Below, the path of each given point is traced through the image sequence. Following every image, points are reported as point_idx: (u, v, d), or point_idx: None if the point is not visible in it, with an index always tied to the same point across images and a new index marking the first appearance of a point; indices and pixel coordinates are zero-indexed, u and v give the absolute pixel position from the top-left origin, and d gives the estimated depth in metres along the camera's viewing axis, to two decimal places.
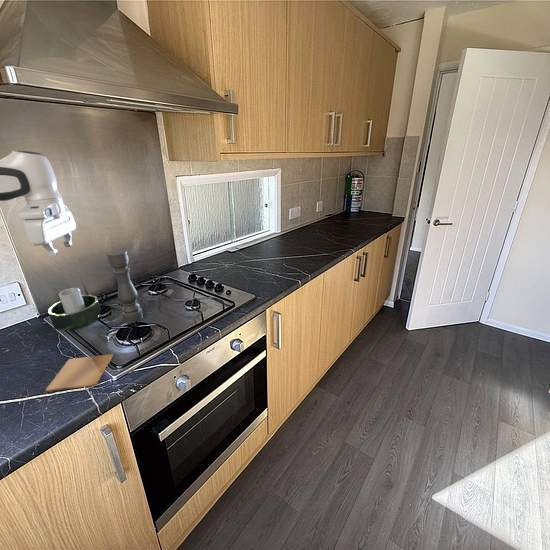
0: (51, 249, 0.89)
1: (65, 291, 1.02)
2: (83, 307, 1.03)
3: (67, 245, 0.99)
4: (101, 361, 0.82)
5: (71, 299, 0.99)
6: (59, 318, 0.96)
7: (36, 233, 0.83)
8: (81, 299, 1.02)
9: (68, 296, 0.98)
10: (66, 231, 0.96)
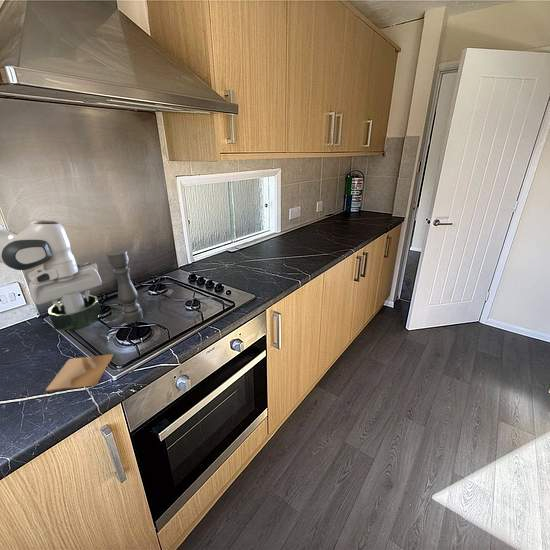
0: (56, 305, 0.98)
1: None
2: (83, 307, 1.03)
3: None
4: (101, 361, 0.82)
5: (71, 299, 0.99)
6: (59, 318, 0.96)
7: (31, 294, 0.92)
8: (81, 299, 1.02)
9: (68, 296, 0.98)
10: (79, 289, 1.01)
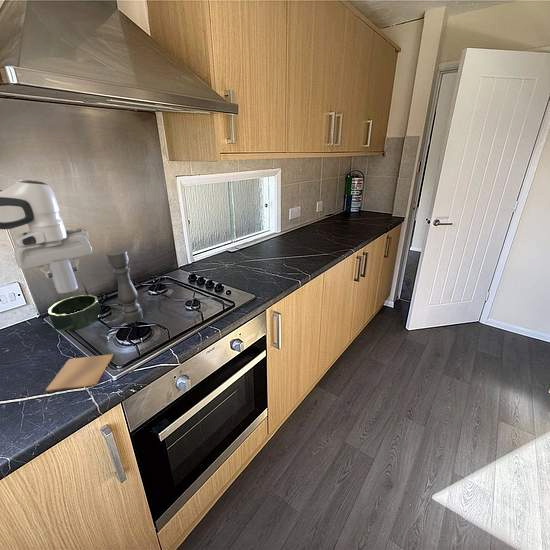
0: (43, 272, 0.93)
1: None
2: (72, 276, 0.98)
3: (73, 269, 1.00)
4: (101, 361, 0.82)
5: (59, 266, 0.94)
6: (59, 318, 0.96)
7: (16, 258, 0.87)
8: (70, 267, 0.97)
9: (56, 263, 0.93)
10: (68, 257, 0.96)
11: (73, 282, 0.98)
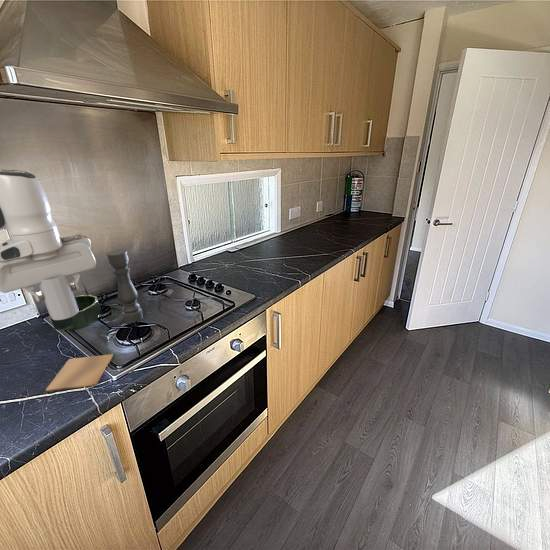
0: (32, 294, 0.70)
1: None
2: (71, 297, 0.75)
3: None
4: (101, 361, 0.82)
5: (53, 286, 0.71)
6: None
7: None
8: (68, 286, 0.74)
9: (49, 281, 0.70)
10: (65, 273, 0.73)
11: (72, 305, 0.75)
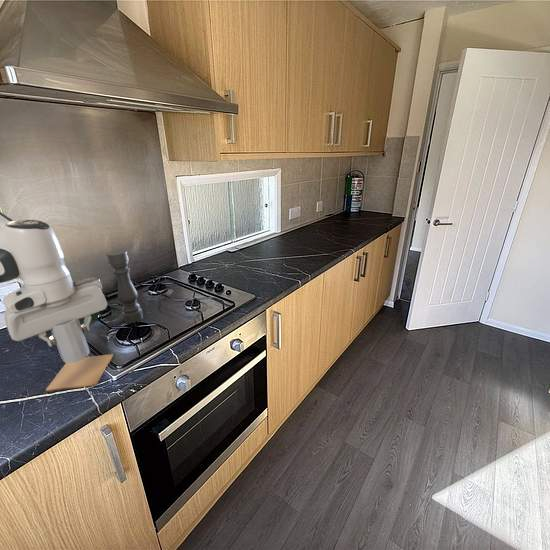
0: (44, 339, 0.70)
1: None
2: (82, 340, 0.75)
3: None
4: (101, 361, 0.82)
5: (65, 330, 0.71)
6: None
7: (7, 327, 0.64)
8: (79, 329, 0.74)
9: (61, 327, 0.70)
10: (77, 316, 0.73)
11: (83, 347, 0.75)
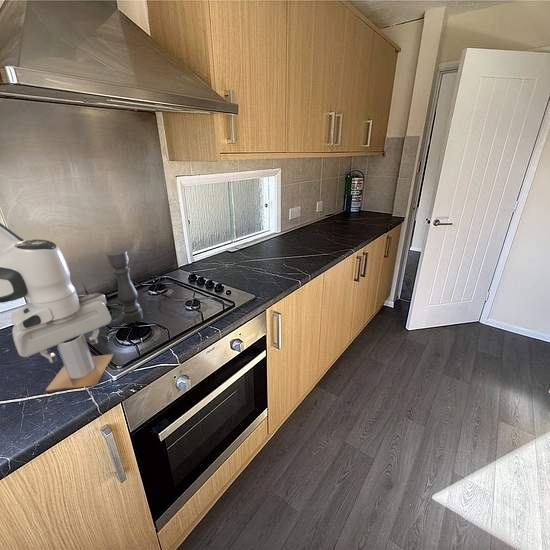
0: (45, 356, 0.71)
1: None
2: (88, 356, 0.77)
3: (91, 342, 0.79)
4: (101, 361, 0.82)
5: (72, 348, 0.73)
6: None
7: (15, 344, 0.66)
8: (85, 346, 0.76)
9: (68, 344, 0.72)
10: (82, 331, 0.75)
11: (88, 363, 0.77)
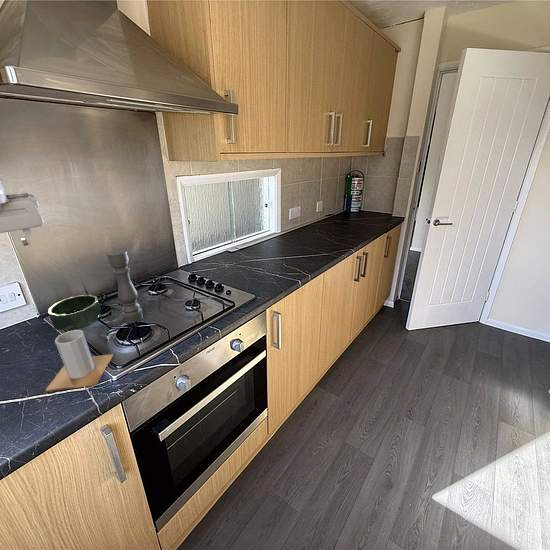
0: None
1: (64, 335, 0.76)
2: (88, 356, 0.77)
3: (23, 243, 0.82)
4: (101, 361, 0.82)
5: (72, 348, 0.73)
6: (59, 318, 0.96)
7: None
8: (85, 346, 0.76)
9: (68, 344, 0.72)
10: (10, 228, 0.78)
11: (88, 363, 0.77)
